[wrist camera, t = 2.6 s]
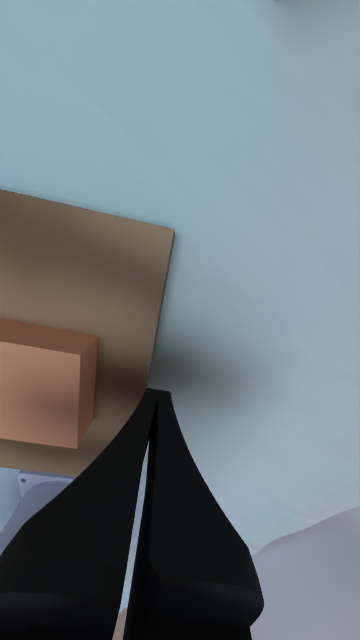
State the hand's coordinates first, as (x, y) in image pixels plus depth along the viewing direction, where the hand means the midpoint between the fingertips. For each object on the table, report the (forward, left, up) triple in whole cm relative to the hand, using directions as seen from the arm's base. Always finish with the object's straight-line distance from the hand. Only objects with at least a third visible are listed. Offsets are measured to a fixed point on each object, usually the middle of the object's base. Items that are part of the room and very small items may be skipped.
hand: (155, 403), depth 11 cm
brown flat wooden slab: (0, +8, -3) cm, 9 cm away
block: (0, +8, -1) cm, 8 cm away
